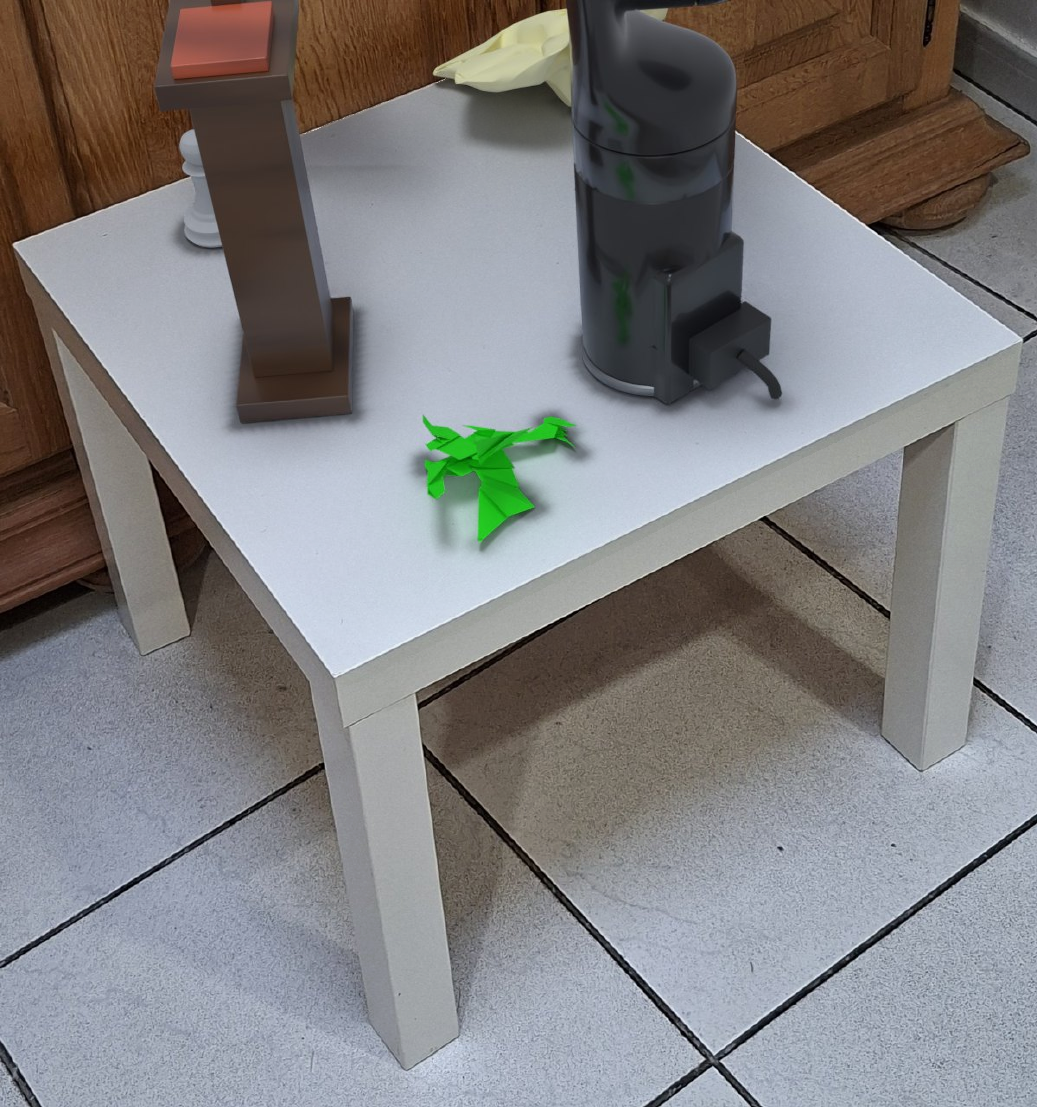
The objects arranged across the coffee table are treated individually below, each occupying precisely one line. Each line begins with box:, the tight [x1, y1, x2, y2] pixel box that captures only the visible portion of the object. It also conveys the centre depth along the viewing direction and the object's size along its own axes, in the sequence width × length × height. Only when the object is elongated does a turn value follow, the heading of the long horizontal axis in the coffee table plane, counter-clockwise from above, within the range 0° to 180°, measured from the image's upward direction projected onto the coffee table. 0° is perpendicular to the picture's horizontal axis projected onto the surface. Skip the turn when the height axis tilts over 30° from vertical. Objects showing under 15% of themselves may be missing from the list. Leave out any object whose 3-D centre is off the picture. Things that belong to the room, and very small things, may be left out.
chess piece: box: [178, 128, 223, 249], centre depth 113 cm, size 5×5×8 cm
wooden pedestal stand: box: [153, 0, 355, 424], centre depth 97 cm, size 10×7×24 cm
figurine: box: [422, 414, 578, 543], centre depth 95 cm, size 6×12×9 cm
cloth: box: [432, 8, 669, 108], centre depth 123 cm, size 22×19×6 cm
